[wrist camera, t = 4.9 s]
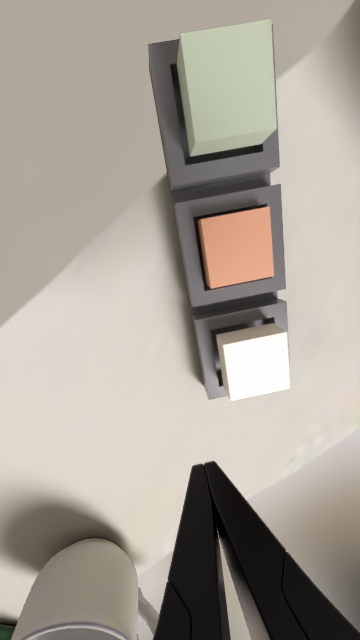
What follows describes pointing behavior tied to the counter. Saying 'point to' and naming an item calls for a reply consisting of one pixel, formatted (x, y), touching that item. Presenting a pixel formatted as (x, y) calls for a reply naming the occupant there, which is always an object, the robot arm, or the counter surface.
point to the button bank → (215, 200)
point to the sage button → (227, 86)
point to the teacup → (85, 596)
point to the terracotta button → (236, 247)
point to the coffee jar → (6, 632)
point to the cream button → (254, 361)
